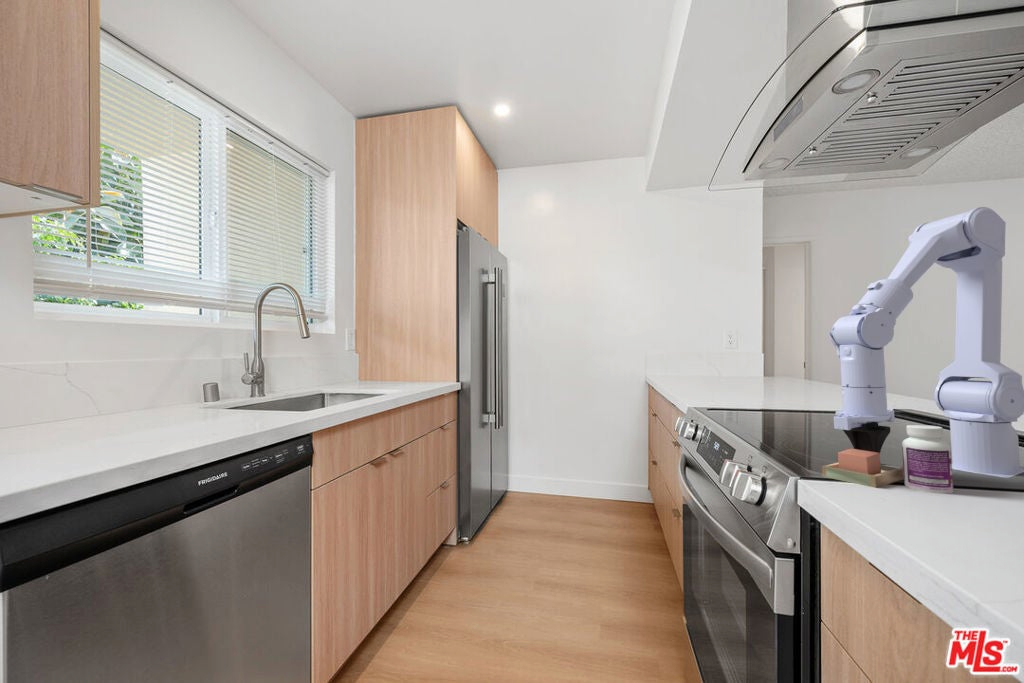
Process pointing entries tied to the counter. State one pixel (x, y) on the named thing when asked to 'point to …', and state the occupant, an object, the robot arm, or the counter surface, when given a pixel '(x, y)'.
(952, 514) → the counter surface
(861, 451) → the red block
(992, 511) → the counter surface
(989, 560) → the counter surface
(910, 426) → the pill bottle
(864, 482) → the box
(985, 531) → the counter surface
